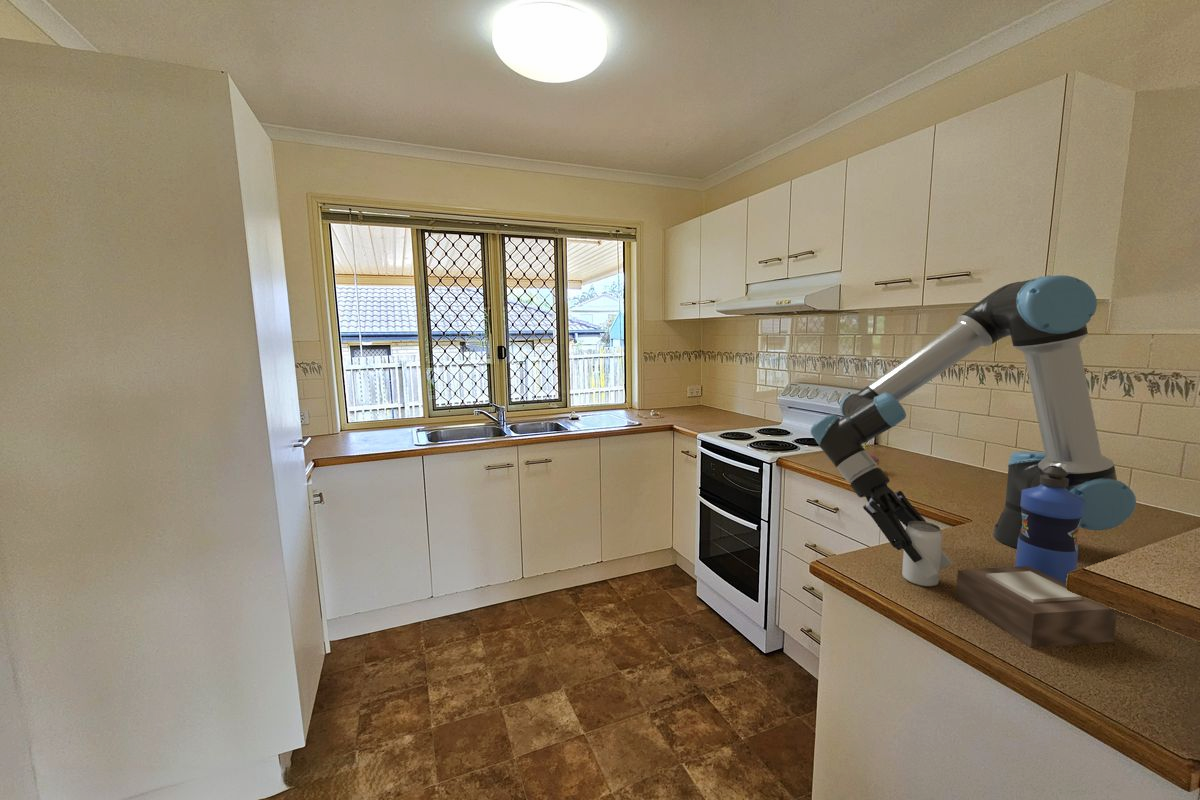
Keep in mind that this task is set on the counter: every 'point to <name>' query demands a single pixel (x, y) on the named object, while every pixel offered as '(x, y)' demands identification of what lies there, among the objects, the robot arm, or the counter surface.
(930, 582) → the can
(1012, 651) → the counter surface
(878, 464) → the cupcake
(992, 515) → the counter surface
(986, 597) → the riser
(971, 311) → the robot arm
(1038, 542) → the water bottle
